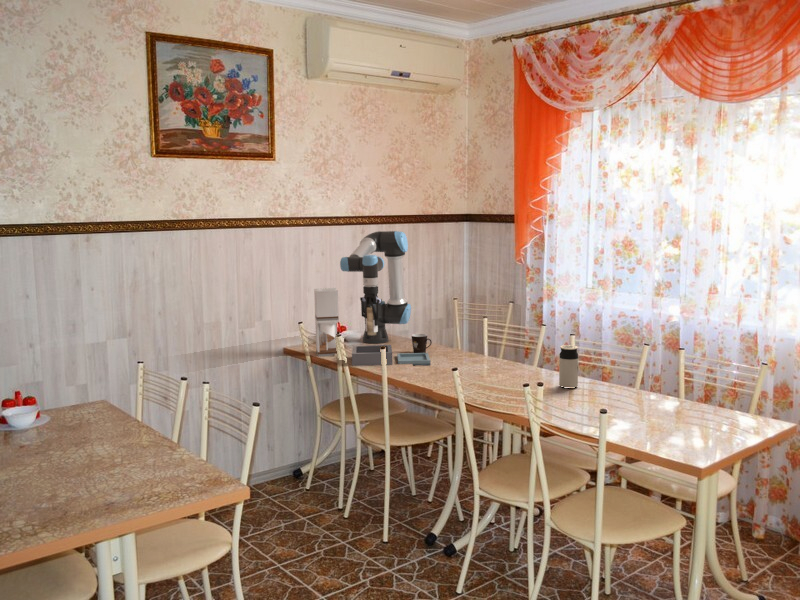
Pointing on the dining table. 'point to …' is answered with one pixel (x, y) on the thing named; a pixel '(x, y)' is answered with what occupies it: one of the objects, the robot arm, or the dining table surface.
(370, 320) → the dowel pin
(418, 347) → the coffee mug
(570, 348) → the travel mug
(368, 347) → the grey open bin
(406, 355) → the tray
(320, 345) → the white coffee grinder
